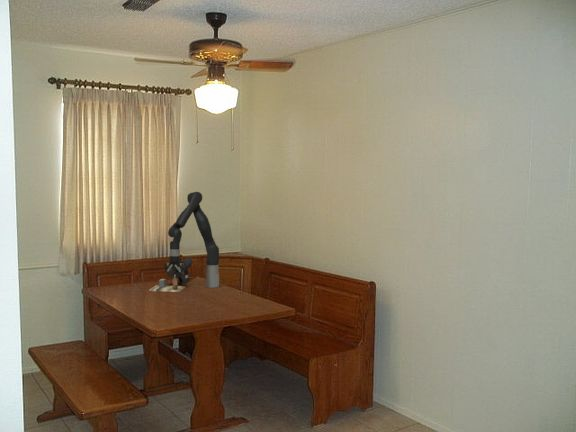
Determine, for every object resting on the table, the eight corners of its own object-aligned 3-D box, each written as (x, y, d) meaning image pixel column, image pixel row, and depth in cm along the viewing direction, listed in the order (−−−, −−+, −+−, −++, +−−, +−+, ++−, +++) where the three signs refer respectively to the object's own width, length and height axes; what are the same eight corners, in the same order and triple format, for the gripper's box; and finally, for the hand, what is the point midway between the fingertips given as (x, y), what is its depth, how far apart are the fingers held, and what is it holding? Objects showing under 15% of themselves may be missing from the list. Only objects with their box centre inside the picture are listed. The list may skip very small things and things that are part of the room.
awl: (178, 289, 404) (177, 274, 403) (176, 290, 400) (176, 275, 400) (173, 288, 404) (173, 274, 403) (171, 289, 401) (171, 275, 400)
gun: (194, 281, 438) (194, 257, 437) (172, 288, 413) (172, 262, 411) (187, 280, 441) (187, 256, 440) (165, 287, 416) (165, 261, 414)
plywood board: (185, 287, 414) (185, 286, 414) (179, 291, 400) (179, 290, 399) (155, 286, 416) (155, 285, 416) (149, 291, 401) (149, 289, 401)
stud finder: (166, 285, 414) (166, 278, 414) (164, 287, 408) (164, 280, 408) (161, 285, 415) (161, 278, 414) (158, 287, 409) (158, 279, 408)
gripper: (185, 254, 404) (185, 276, 405) (166, 253, 405) (166, 275, 406) (182, 256, 396) (182, 278, 398) (163, 255, 398) (163, 277, 399)
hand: (174, 276), depth 402 cm, fingers open, 8 cm apart
